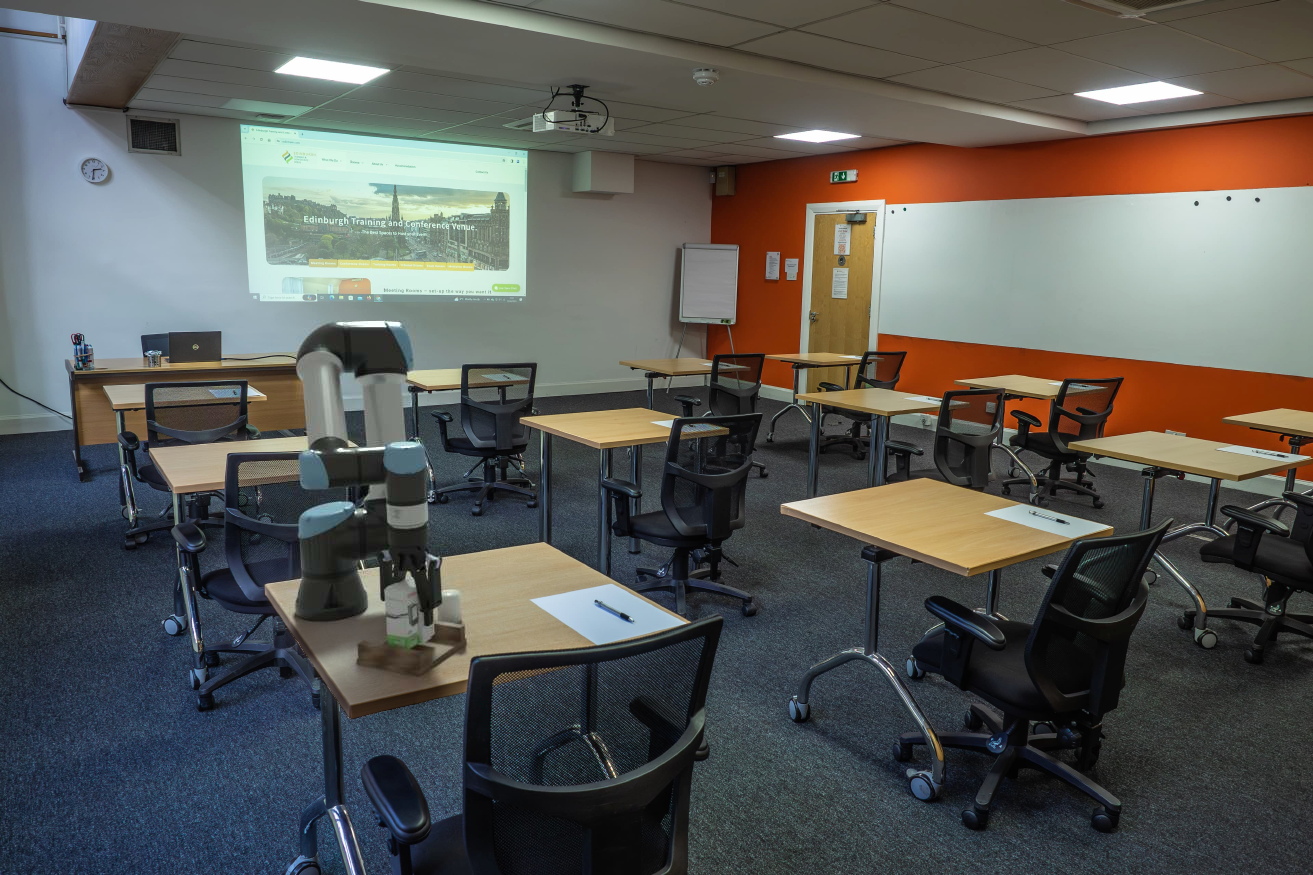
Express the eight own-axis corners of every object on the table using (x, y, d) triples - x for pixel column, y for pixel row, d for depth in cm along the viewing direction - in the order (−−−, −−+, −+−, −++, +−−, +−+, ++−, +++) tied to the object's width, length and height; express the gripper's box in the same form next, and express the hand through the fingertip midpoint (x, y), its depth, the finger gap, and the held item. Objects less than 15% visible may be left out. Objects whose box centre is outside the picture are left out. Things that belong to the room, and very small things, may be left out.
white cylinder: (433, 622, 180) (432, 595, 179) (446, 614, 185) (445, 588, 184) (453, 625, 179) (452, 599, 178) (466, 617, 183) (465, 591, 182)
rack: (356, 664, 160) (355, 644, 159) (408, 632, 175) (407, 614, 174) (418, 676, 155) (417, 656, 155) (466, 642, 170) (466, 624, 169)
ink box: (407, 651, 159) (403, 591, 157) (386, 646, 161) (382, 588, 159) (435, 634, 167) (433, 577, 165) (415, 630, 169) (412, 574, 167)
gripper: (355, 523, 160) (361, 638, 164) (436, 533, 154) (441, 652, 158) (381, 513, 167) (386, 624, 171) (459, 523, 161) (463, 637, 165)
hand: (412, 637), depth 164 cm, fingers closed on ink box, 5 cm apart
